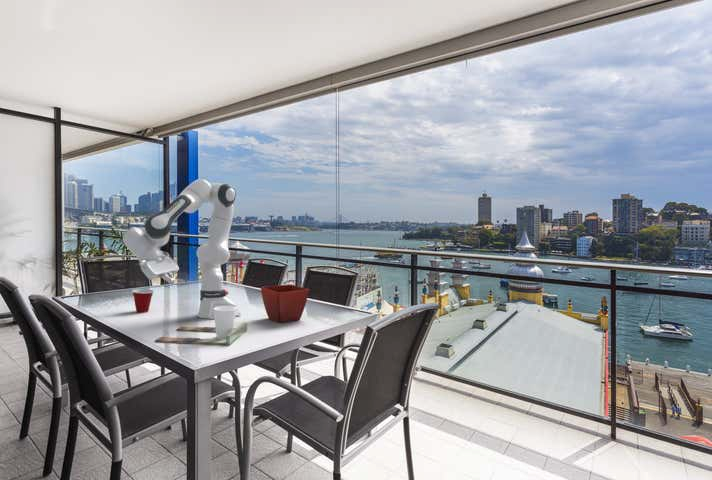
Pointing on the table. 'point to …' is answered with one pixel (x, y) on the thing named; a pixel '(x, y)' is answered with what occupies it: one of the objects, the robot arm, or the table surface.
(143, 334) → the table surface
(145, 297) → the plastic cup
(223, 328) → the foam cup
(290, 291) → the plant pot
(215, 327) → the trap pads
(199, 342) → the runway box
